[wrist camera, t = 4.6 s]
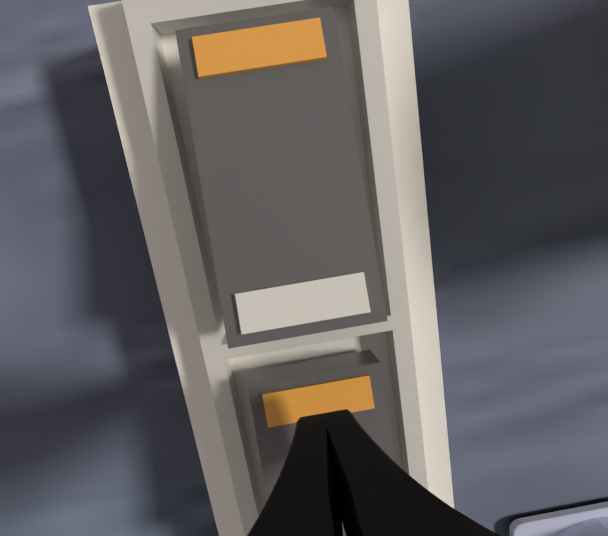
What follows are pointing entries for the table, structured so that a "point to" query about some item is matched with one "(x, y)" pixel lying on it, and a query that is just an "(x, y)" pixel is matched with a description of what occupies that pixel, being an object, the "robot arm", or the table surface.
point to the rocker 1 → (280, 176)
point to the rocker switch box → (198, 254)
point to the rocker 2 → (316, 403)
